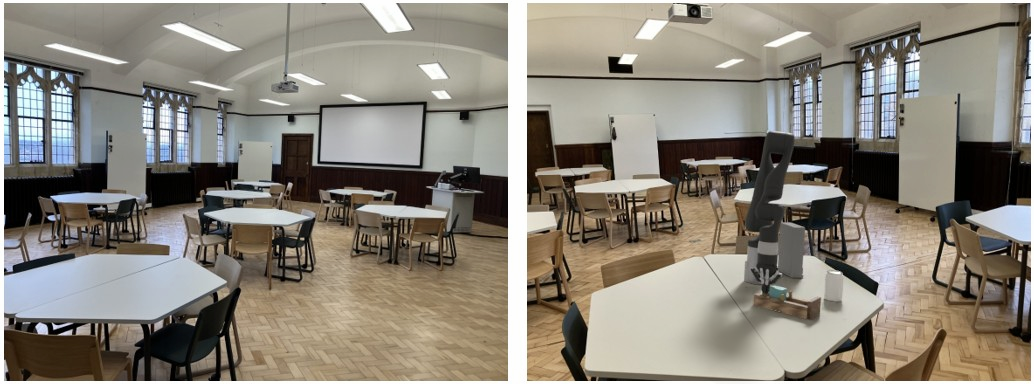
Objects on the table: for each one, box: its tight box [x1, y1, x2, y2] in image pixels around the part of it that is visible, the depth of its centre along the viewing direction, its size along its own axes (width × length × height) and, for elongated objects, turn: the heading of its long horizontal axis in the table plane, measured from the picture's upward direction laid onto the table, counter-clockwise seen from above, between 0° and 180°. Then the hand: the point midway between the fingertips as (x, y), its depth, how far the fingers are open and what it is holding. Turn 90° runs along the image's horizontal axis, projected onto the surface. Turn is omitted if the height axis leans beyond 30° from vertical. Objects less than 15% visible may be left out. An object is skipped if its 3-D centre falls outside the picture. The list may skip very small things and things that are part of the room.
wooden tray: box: [752, 290, 822, 321], centre depth 208 cm, size 22×9×7 cm, turn 39°
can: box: [823, 269, 845, 303], centre depth 219 cm, size 6×6×12 cm
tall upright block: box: [777, 222, 806, 279], centre depth 257 cm, size 14×6×25 cm, turn 179°
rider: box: [769, 285, 788, 301], centre depth 210 cm, size 5×4×5 cm
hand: (765, 292), depth 214 cm, fingers closed
